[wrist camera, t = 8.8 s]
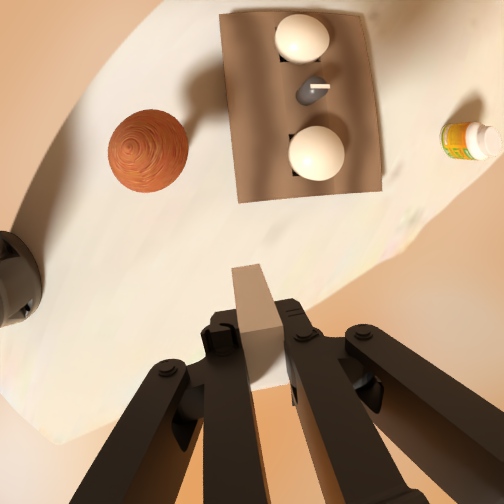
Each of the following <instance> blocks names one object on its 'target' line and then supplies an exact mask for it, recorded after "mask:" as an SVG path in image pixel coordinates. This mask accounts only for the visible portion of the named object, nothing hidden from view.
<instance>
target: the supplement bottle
mask: <svg viewBox="0 0 504 504" xmlns="http://www.w3.org/2000/svg"><path fill="white" fill-rule="evenodd" d="M440 145H441V148H442V150H443V152H444V153H445V154H446V155H447V156H448V157H450V158H454V159H467V160H485V159H487V158H488V157H489V156H497V155H499V153H500V151H501V148H502V140H501V136H500V134H499V132H498V130H497V129H496V128H494V127H492V126H485V125H483V124H482V123H479V122H469V123H457V124H448V125H445V126H444V127H443V128H442V130H441V132H440Z"/></svg>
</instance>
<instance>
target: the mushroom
mask: <svg viewBox="0 0 504 504" xmlns="http://www.w3.org/2000/svg"><path fill="white" fill-rule="evenodd" d="M187 157H188V139H187V136H186V133H185V131H184V128H183V127H182V125H181V124H180V123H179V121H178V120H177V119H176V118H175V117H173V116H172V115H170V114H168V113H166V112H164V111H160V110H153V109H150V110H143V111H139V112H136V113H134V114H132V115H131V116H129V117H127V118H126V119H125V120H124V121H123V122H121V123H120V125H119V126H118V127H117V128H116V129H115V131H114V132H113V134H112V137H111V139H110V142H109V147H108V160H109V164H110V167H111V169H112V171H113V173H114V175H115V176H116V178H117V179H118V180H119V181H120V182H121V184H123V185H124V186H125V187H127V188H129V189H131V190H133V191H136V192H142V193H150V192H155V191H159V190H161V189H163V188H165V187H167V186H169V185H170V184H171V183H172V182H174V181H175V180H176V179H177V177H178V176H179V175H180V173H181V172H182V170H183V168H184V166H185V164H186V161H187Z"/></svg>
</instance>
